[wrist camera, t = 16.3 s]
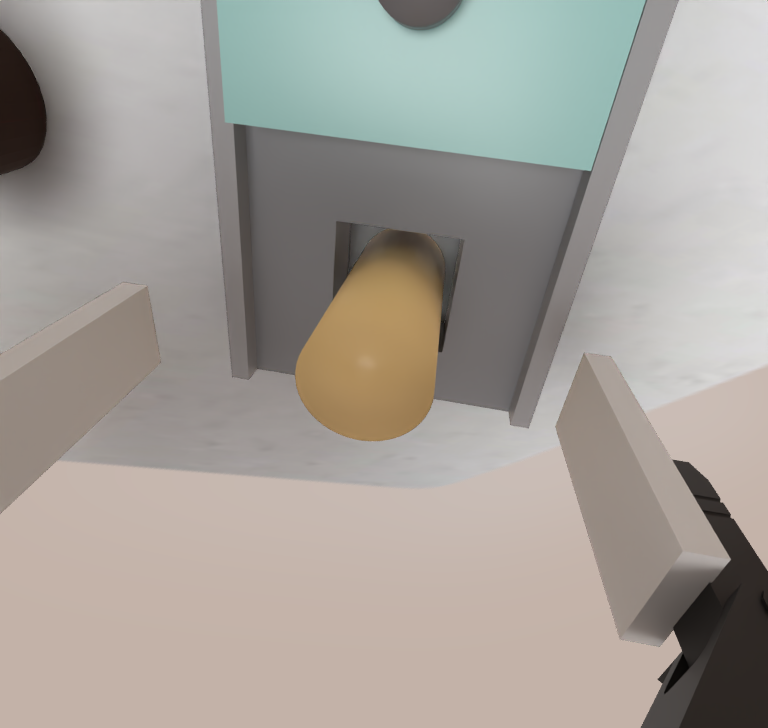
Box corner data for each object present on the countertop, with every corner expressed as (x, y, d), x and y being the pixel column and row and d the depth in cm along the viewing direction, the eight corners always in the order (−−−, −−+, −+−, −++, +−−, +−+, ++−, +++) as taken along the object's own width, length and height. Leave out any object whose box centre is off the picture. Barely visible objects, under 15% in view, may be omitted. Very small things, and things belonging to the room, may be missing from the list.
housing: (260, 336, 24) (228, 376, 21) (240, -143, 15) (175, -211, 12) (522, 380, 24) (533, 429, 20) (676, -102, 14) (744, -164, 11)
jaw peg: (361, 223, 21) (291, 315, 12) (450, 230, 20) (442, 330, 12) (359, 304, 23) (298, 432, 14) (440, 312, 22) (427, 449, 14)
